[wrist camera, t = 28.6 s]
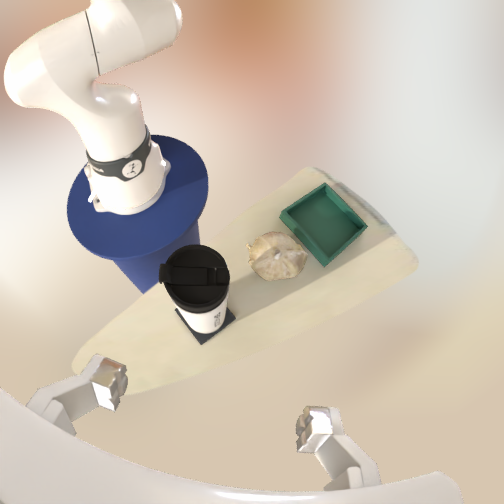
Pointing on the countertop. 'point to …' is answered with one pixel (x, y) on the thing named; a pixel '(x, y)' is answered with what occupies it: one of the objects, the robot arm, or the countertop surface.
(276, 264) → the garlic bulb
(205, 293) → the travel mug
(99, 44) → the robot arm
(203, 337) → the mat
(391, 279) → the countertop surface
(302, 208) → the tray
